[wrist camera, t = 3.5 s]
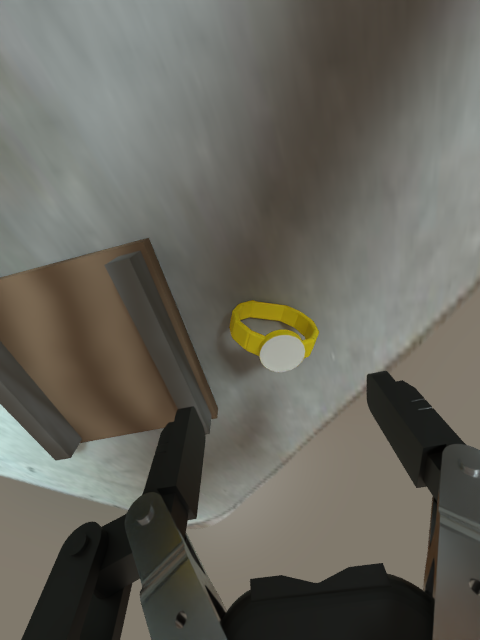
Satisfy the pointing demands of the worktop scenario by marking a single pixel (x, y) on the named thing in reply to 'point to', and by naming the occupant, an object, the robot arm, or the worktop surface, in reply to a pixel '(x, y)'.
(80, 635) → the robot arm
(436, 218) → the worktop surface
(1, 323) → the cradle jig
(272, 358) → the watch
